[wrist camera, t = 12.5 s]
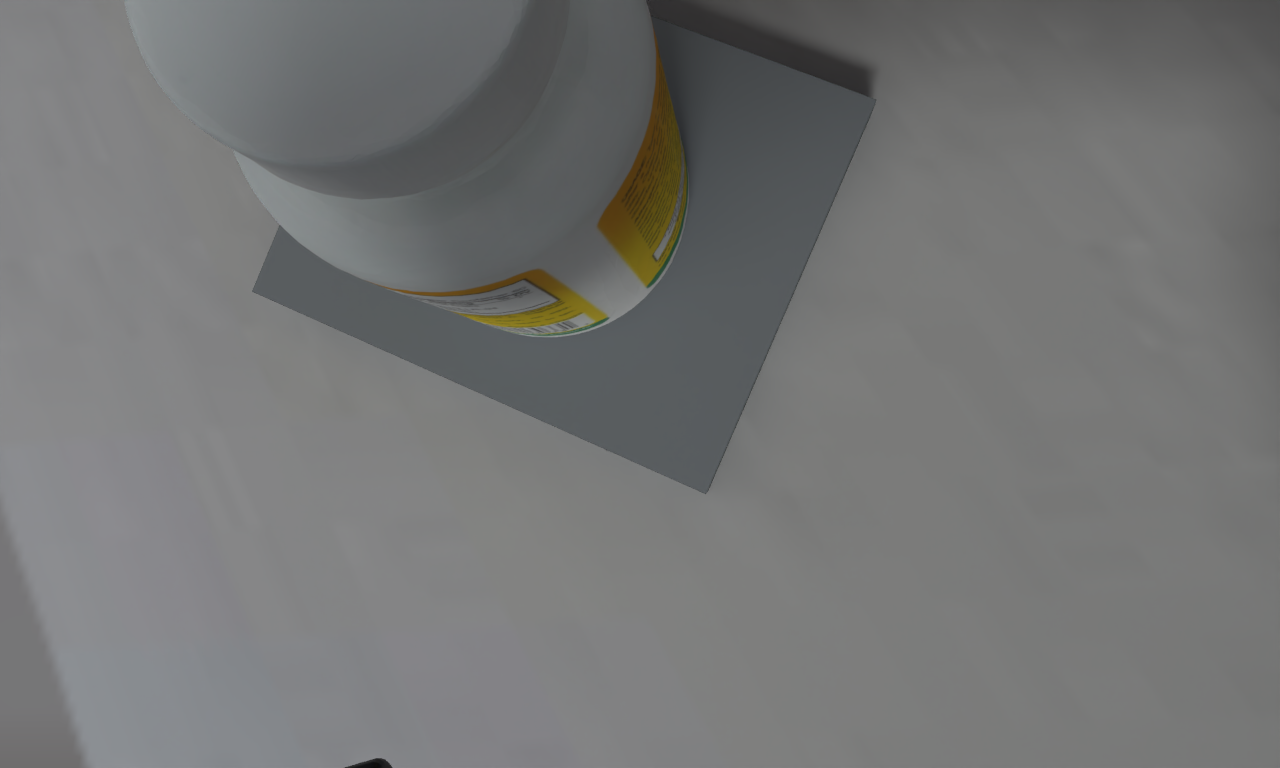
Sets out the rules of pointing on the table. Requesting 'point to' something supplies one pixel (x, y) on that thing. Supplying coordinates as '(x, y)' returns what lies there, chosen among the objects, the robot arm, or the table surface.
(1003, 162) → the table surface
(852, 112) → the mat
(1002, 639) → the table surface
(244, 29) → the supplement bottle
